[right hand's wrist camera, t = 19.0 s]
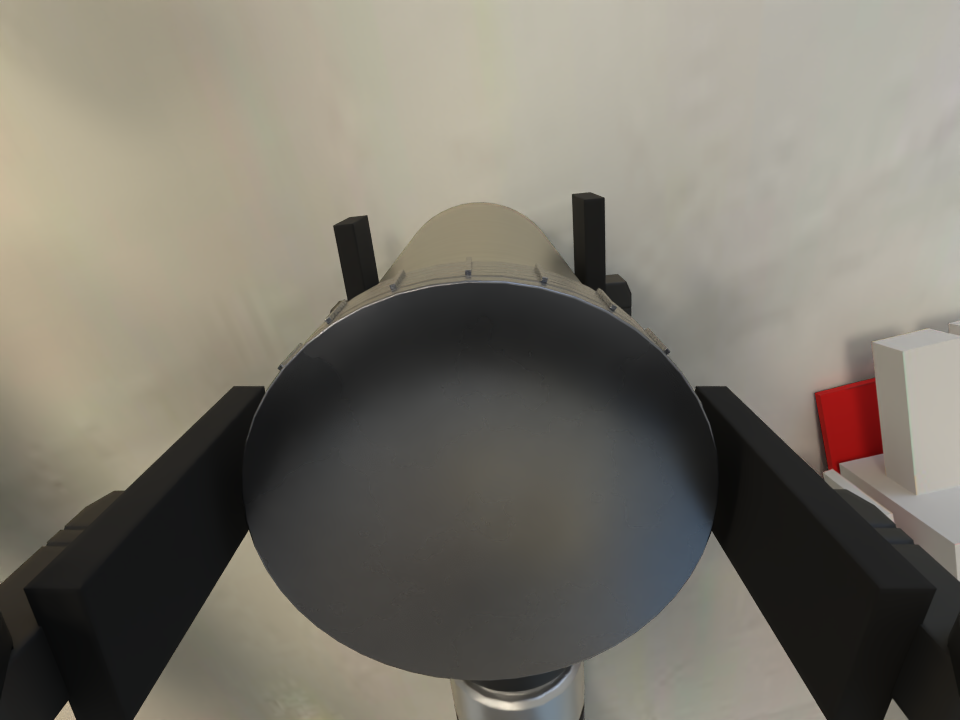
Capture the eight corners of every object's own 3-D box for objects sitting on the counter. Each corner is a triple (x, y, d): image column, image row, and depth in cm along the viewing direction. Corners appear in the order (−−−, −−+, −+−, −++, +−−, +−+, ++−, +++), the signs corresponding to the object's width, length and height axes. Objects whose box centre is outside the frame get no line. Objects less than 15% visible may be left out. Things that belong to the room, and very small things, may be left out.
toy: (1258, 316, 19) (1222, 910, 26) (953, 281, 32) (981, 682, 39) (905, 397, 20) (957, 944, 27) (749, 332, 33) (810, 711, 40)
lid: (308, 627, 14) (286, 690, 12) (230, 267, 11) (183, 288, 9) (670, 614, 14) (695, 676, 12) (711, 244, 10) (755, 262, 9)
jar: (453, 168, 26) (401, 203, 9) (591, 260, 28) (774, 440, 11) (371, 309, 29) (210, 546, 12) (503, 385, 31) (533, 692, 13)
